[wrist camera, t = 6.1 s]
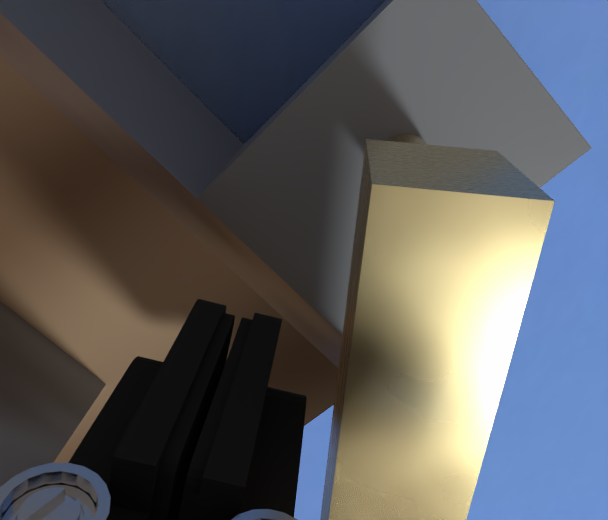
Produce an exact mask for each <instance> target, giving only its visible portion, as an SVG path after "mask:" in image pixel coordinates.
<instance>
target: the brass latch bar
mask: <svg viewBox="0 0 608 520" xmlns="http://www.w3.org/2000/svg"><path fill="white" fill-rule="evenodd" d="M553 205H554V200H553V199H552V198H550V197H549V196H548V195H547V194H546V193H545V192H544V191H543V190H541V189H540V188H539V187H538V186H537V185H536V184H535V183H533V182H532V181H531V180H530V179H529V178H528V177H527V176H525V175H524V174H523V173H522V172H521V171H520V170H519V169H517V168H516V167H515V166H514V165H513V164H512V163H511V162H510V161H508V160H507V159H506V158H505V157H504V156H503V155H502V154H500V153H499V152H498V151H493V150H482V149H471V148H460V147H448V146H437V145H427V143H426V142H425V141H424V140H423V139H421V138H420V137H418V136H416V135H412V134H399V135H395V136H393V137H391V138H389V139H388V140H386V141H381V140H370V139H366V143H365V151H364V160H363V168H362V176H361V185H360V193H359V201H358V210H357V218H356V226H355V235H354V243H353V251H352V260H351V268H350V276H349V285H348V293H347V301H346V310H345V318H344V326H343V335H342V343H341V351H340V360H339V368H338V376H337V385H336V393H335V401H334V410H333V418H332V426H331V435H330V443H329V451H328V460H327V468H326V476H325V485H324V493H323V501H322V510H321V518H320V520H466V518H467V515H468V511H469V508H470V504H471V500H472V497H473V493H474V490H475V486H476V482H477V479H478V475H479V472H480V468H481V464H482V461H483V457H484V454H485V450H486V446H487V443H488V439H489V436H490V432H491V428H492V425H493V421H494V418H495V414H496V410H497V407H498V403H499V400H500V396H501V392H502V389H503V385H504V382H505V378H506V374H507V371H508V367H509V364H510V360H511V356H512V353H513V349H514V346H515V342H516V338H517V335H518V331H519V327H520V324H521V320H522V317H523V313H524V309H525V306H526V302H527V299H528V295H529V291H530V288H531V284H532V281H533V277H534V273H535V270H536V266H537V263H538V259H539V255H540V252H541V248H542V245H543V241H544V237H545V234H546V230H547V227H548V223H549V219H550V216H551V212H552V209H553Z"/></svg>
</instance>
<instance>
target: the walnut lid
mask: <svg viewBox="0 0 608 520" xmlns="http://www.w3.org/2000/svg"><path fill="white" fill-rule="evenodd" d="M197 299H202V300H206V301H210V302H214V303H218V304H222V305H226V313H227V314H232V315H235V321H234V326H233V331H232V336H231V341H230V346H229V351H228V355H229V352H230V350H231V347H232V344H233V341H234V338H235V335H236V333H237V330H238V327H239V324H240V321H241V319H242V317H243V318H248V319H252V320H253V317H254V314H255V313H259V314H264V315H268V316H272V317H276V318H280V319H282V323H281V328H280V332H279V337H278V342H277V346H276V351H275V355H274V360H273V364H272V369H271V373H270V378H269V382H268V387H271V388H275V389H279V390H283V391H288V392H292V393H296V394H300V395H305V396H306V398H307V400H306V411H305V420H304V426H305V425H306V424H307V423H309V422H310V421H312V420H313V419H314V418H316V417H317V416H318V415H320V414H321V413H323V412H324V411H325V410H327V409H328V408H330V407H331V406H332V405H334V401H335V393H336V385H337V376H338V368H339V360H340V351H341V343H342V335H341V334H340V333H339V332H338V331H337V330H336V329H335V328H334V327H332V326H331V325H330V324H329V323H328V322H327V321H326V320H325V319H324V318H323V317H322V316H321V315H320V314H319V313H318V312H317V311H316V310H314V309H313V308H312V307H311V306H310V305H309V304H308V303H307V302H306V301H305V300H304V299H303V298H302V297H301V296H300V295H299V294H298V293H296V292H295V291H294V290H293V289H292V288H291V287H290V286H289V285H288V284H287V283H286V282H285V281H284V280H283V279H282V278H281V277H280V276H278V275H277V274H276V273H275V272H274V271H273V270H272V269H271V268H270V267H269V266H268V265H267V264H266V263H265V262H264V261H263V260H262V259H260V258H259V257H258V256H257V255H256V254H255V253H254V252H253V251H252V250H251V249H250V248H249V247H248V246H247V245H246V244H245V243H244V242H243V241H241V240H240V239H239V238H238V237H237V236H236V235H235V234H234V233H233V232H232V231H231V230H230V229H229V228H228V227H227V226H226V225H225V224H223V223H222V222H221V221H220V220H219V219H218V218H217V217H216V216H215V215H214V214H213V213H212V212H211V211H210V210H209V209H208V208H207V207H205V206H204V205H203V204H202V203H201V202H200V201H199V200H198V199H197V198H196V197H195V196H194V195H193V194H192V193H191V192H190V191H189V190H187V189H186V188H185V187H184V186H183V185H182V184H181V183H180V182H179V181H178V180H177V179H176V178H175V177H174V176H173V175H172V174H171V173H169V172H168V171H167V170H166V169H165V168H164V167H163V166H162V165H161V164H160V163H159V162H158V161H157V160H156V159H155V158H154V157H153V156H151V155H150V154H149V153H148V152H147V151H146V150H145V149H144V148H143V147H142V146H141V145H140V144H139V143H138V142H137V141H136V140H135V139H133V138H132V137H131V136H130V135H129V134H128V133H127V132H126V131H125V130H124V129H123V128H122V127H121V126H120V125H119V124H118V123H117V122H115V121H114V120H113V119H112V118H111V117H110V116H109V115H108V114H107V113H106V112H105V111H104V110H103V109H102V108H101V107H100V106H99V105H97V104H96V103H95V102H94V101H93V100H92V99H91V98H90V97H89V96H88V95H87V94H86V93H85V92H84V91H83V90H82V89H81V88H79V87H78V86H77V85H76V84H75V83H74V82H73V81H72V80H71V79H70V78H69V77H68V76H67V75H66V74H65V73H64V72H63V71H61V70H60V69H59V68H58V67H57V66H56V65H55V64H54V63H53V62H52V61H51V60H50V59H49V58H48V57H47V56H46V55H45V54H43V53H42V52H41V51H40V50H39V49H38V48H37V47H36V46H35V45H34V44H33V43H32V42H31V41H30V40H29V39H28V38H27V37H25V36H24V35H23V34H22V33H21V32H20V31H19V30H18V29H17V28H16V27H15V26H14V25H13V24H12V23H11V22H10V21H9V20H7V19H6V18H5V17H4V16H3V15H2V14H1V13H0V487H1V486H2V485H4V484H5V483H6V482H7V481H9V480H10V479H11V478H12V477H14V476H15V475H17V474H19V473H21V472H23V471H26V470H28V469H30V468H32V467H36V466H40V465H44V464H48V463H68V462H69V461H70V459H71V457H72V456H73V454H74V453H75V451H76V449H77V448H78V446H79V445H80V443H81V442H82V440H83V438H84V437H85V435H86V434H87V432H88V430H89V429H90V427H91V426H92V424H93V422H94V421H95V419H96V418H97V416H98V415H99V413H100V411H101V410H102V408H103V407H104V405H105V403H106V402H107V400H108V399H109V397H110V396H111V394H112V392H113V391H114V389H115V388H116V386H117V384H118V383H119V381H120V380H121V378H122V377H123V375H124V373H125V372H126V370H127V369H128V367H129V365H130V364H131V362H132V361H133V360H134V358H136V357H137V356H140V357H144V358H149V359H153V360H157V361H161V362H164V360H165V358H166V356H167V354H168V352H169V351H170V349H171V347H172V345H173V343H174V341H175V339H176V338H177V336H178V334H179V332H180V330H181V328H182V326H183V325H184V323H185V321H186V319H187V317H188V315H189V313H190V312H191V310H192V308H193V306H194V304H195V302H196V301H197ZM227 358H228V356H227Z"/></svg>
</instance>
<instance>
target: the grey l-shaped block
mask: <svg viewBox="0 0 608 520" xmlns="http://www.w3.org/2000/svg"><path fill="white" fill-rule="evenodd" d="M0 13H1V14H2V15H3V16H4V17H5V18H6V19H7V20H9V21H10V22H11V23H12V24H13V25H14V26H15V27H16V28H17V29H18V30H19V31H20V32H21V33H22V34H23V35H24V36H25V37H27V38H28V39H29V40H30V41H31V42H32V43H33V44H34V45H35V46H36V47H37V48H38V49H39V50H40V51H41V52H42V53H43V54H45V55H46V56H47V57H48V58H49V59H50V60H51V61H52V62H53V63H54V64H55V65H56V66H57V67H58V68H59V69H60V70H61V71H63V72H64V73H65V74H66V75H67V76H68V77H69V78H70V79H71V80H72V81H73V82H74V83H75V84H76V85H77V86H78V87H79V88H81V89H82V90H83V91H84V92H85V93H86V94H87V95H88V96H89V97H90V98H91V99H92V100H93V101H94V102H95V103H96V104H97V105H99V106H100V107H101V108H102V109H103V110H104V111H105V112H106V113H107V114H108V115H109V116H110V117H111V118H112V119H113V120H114V121H115V122H117V123H118V124H119V125H120V126H121V127H122V128H123V129H124V130H125V131H126V132H127V133H128V134H129V135H130V136H131V137H132V138H133V139H135V140H136V141H137V142H138V143H139V144H140V145H141V146H142V147H143V148H144V149H145V150H146V151H147V152H148V153H149V154H150V155H151V156H153V157H154V158H155V159H156V160H157V161H158V162H159V163H160V164H161V165H162V166H163V167H164V168H165V169H166V170H167V171H168V172H169V173H171V174H172V175H173V176H174V177H175V178H176V179H177V180H178V181H179V182H180V183H181V184H182V185H183V186H184V187H185V188H186V189H187V190H189V191H190V192H191V193H192V194H193V195H194V196H195V197H196V198H197V199H198V200H199V201H200V202H201V203H202V204H203V205H204V206H205V207H207V208H208V209H209V210H210V211H211V212H212V213H213V214H214V215H215V216H216V217H217V218H218V219H219V220H220V221H221V222H222V223H223V224H225V225H226V226H227V227H228V228H229V229H230V230H231V231H232V232H233V233H234V234H235V235H236V236H237V237H238V238H239V239H240V240H241V241H243V242H244V243H245V244H246V245H247V246H248V247H249V248H250V249H251V250H252V251H253V252H254V253H255V254H256V255H257V256H258V257H259V258H260V259H262V260H263V261H264V262H265V263H266V264H267V265H268V266H269V267H270V268H271V269H272V270H273V271H274V272H275V273H276V274H277V275H278V276H280V277H281V278H282V279H283V280H284V281H285V282H286V283H287V284H288V285H289V286H290V287H291V288H292V289H293V290H294V291H295V292H296V293H298V294H299V295H300V296H301V297H302V298H303V299H304V300H305V301H306V302H307V303H308V304H309V305H310V306H311V307H312V308H313V309H314V310H316V311H317V312H318V313H319V314H320V315H321V316H322V317H323V318H324V319H325V320H326V321H327V322H328V323H329V324H330V325H331V326H332V327H334V328H335V329H336V330H337V331H338V332H339V333H340V334H341V335H343V326H344V318H345V310H346V301H347V293H348V285H349V276H350V268H351V260H352V251H353V243H354V235H355V226H356V218H357V210H358V201H359V193H360V185H361V176H362V168H363V160H364V151H365V143H366V139H370V140H381V141H386V140H388V139H389V138H391V137H393V136H395V135H399V134H412V135H416V136H418V137H420V138H421V139H423V140H424V141H425V142H426V143H427V145H437V146H448V147H460V148H471V149H482V150H493V151H498V152H499V153H500V154H502V155H503V156H504V157H505V158H506V159H507V160H508V161H510V162H511V163H512V164H513V165H514V166H515V167H516V168H517V169H519V170H520V171H521V172H522V173H523V174H524V175H525V176H527V177H528V178H529V179H530V180H531V181H532V182H533V183H535V184H536V185H537V186H538V187H539V188H540V187H541V186H543V185H544V184H545V183H547V182H548V181H549V180H550V179H552V178H553V177H554V176H556V175H557V174H558V173H560V172H561V171H562V170H563V169H565V168H566V167H567V166H569V165H570V164H571V163H573V162H574V161H575V160H577V159H578V158H579V157H580V156H582V155H583V154H584V153H586V152H587V151H588V150H590V149H591V146H590V145H589V144H588V142H587V141H586V140H585V139H584V137H583V136H582V135H581V134H580V132H579V131H578V130H577V128H576V127H575V126H574V125H573V123H572V122H571V121H570V119H569V118H568V117H567V116H566V114H565V113H564V112H563V110H562V109H561V108H560V107H559V105H558V104H557V103H556V102H555V100H554V99H553V98H552V96H551V95H550V94H549V93H548V91H547V90H546V89H545V87H544V86H543V85H542V84H541V82H540V81H539V80H538V78H537V77H536V76H535V75H534V73H533V72H532V71H531V70H530V68H529V67H528V66H527V64H526V63H525V62H524V61H523V59H522V58H521V57H520V55H519V54H518V53H517V52H516V50H515V49H514V48H513V46H512V45H511V44H510V43H509V41H508V40H507V39H506V37H505V36H504V35H503V34H502V32H501V31H500V30H499V29H498V27H497V26H496V25H495V23H494V22H493V21H492V20H491V18H490V17H489V16H488V14H487V13H486V12H485V11H484V9H483V8H482V7H481V5H480V4H479V3H478V2H477V0H385V1H384V2H383V3H382V4H381V5H380V6H379V7H378V8H377V9H376V10H375V11H374V12H373V13H372V14H371V15H370V16H369V17H368V18H367V19H366V21H365V22H364V23H363V24H362V25H361V26H360V27H359V28H358V29H357V30H356V31H355V32H354V33H353V34H352V35H351V36H350V37H349V38H348V39H347V40H346V41H345V42H344V43H343V44H342V45H341V46H340V47H339V48H338V49H337V50H336V51H335V52H334V53H333V54H332V55H331V56H330V57H329V58H328V59H327V60H326V61H325V62H324V63H323V64H322V65H321V66H320V67H319V68H318V69H317V70H316V71H315V72H314V73H313V74H312V76H311V77H310V78H309V79H308V80H307V81H306V82H305V83H304V84H303V85H302V86H301V87H300V88H299V89H298V90H297V91H296V92H295V93H294V94H293V95H292V96H291V97H290V98H289V99H288V100H287V101H286V102H285V103H284V104H283V105H282V106H281V107H280V108H279V109H278V110H277V111H276V112H275V113H274V114H273V115H272V116H271V117H270V118H269V119H268V120H267V121H266V122H265V123H264V124H263V125H262V126H261V127H260V128H259V129H258V130H257V132H256V133H255V134H254V135H253V136H252V137H251V138H250V139H249V140H248V141H247V142H246V143H245V144H243V143H242V142H241V141H240V140H239V139H238V138H237V137H236V136H235V135H234V134H233V133H232V132H231V131H230V130H229V129H228V128H227V127H226V126H225V125H224V124H223V123H222V122H221V121H220V120H219V119H218V118H217V117H216V116H215V115H214V114H213V112H212V111H211V110H210V109H209V108H208V107H207V106H206V105H205V104H204V103H203V102H202V101H201V100H200V99H199V98H198V97H197V96H196V95H195V94H194V93H193V92H192V91H191V90H190V89H189V88H188V87H187V86H186V85H185V84H184V83H183V82H182V81H181V80H180V79H179V78H178V77H177V76H176V75H175V74H174V73H173V72H172V71H171V70H170V69H169V68H168V67H167V66H166V65H165V64H164V63H163V62H162V61H161V60H160V59H159V58H158V57H157V56H156V55H155V54H154V53H153V52H152V51H151V50H150V49H149V48H148V47H147V46H146V45H145V44H144V43H143V42H142V41H141V40H140V39H139V38H138V37H137V36H136V35H135V34H134V33H133V32H132V31H131V30H130V29H129V28H128V27H127V26H126V25H125V24H124V23H123V22H122V21H121V20H120V19H119V18H118V17H117V16H116V15H115V14H114V13H113V12H112V11H111V10H110V9H109V8H108V7H107V6H106V5H105V4H104V3H103V2H102V1H101V0H0Z"/></svg>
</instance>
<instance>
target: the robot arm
mask: <svg viewBox="0 0 608 520" xmlns="http://www.w3.org/2000/svg"><path fill="white" fill-rule="evenodd" d="M234 321H235V315H232V314H227V313H226V305H222V304H218V303H214V302H210V301H206V300H202V299H197V301H196V302H195V304H194V306H193V308H192V310H191V312H190V313H189V315H188V317H187V319H186V321H185V323H184V325H183V326H182V328H181V330H180V332H179V334H178V336H177V338H176V339H175V341H174V343H173V345H172V347H171V349H170V351H169V352H168V354H167V356H166V358H165V360H164V362H161V361H157V360H153V359H149V358H144V357H140V356H137V357H136V358H134V360H133V361H132V362H131V364H130V365H129V367H128V369H127V370H126V372H125V373H124V375H123V377H122V378H121V380H120V381H119V383H118V384H117V386H116V388H115V389H114V391H113V392H112V394H111V396H110V397H109V399H108V400H107V402H106V403H105V405H104V407H103V408H102V410H101V411H100V413H99V415H98V416H97V418H96V419H95V421H94V422H93V424H92V426H91V427H90V429H89V430H88V432H87V434H86V435H85V437H84V438H83V440H82V442H81V443H80V445H79V446H78V448H77V449H76V451H75V453H74V454H73V456H72V457H71V459H70V461H69V462H68V463H48V464H44V465H40V466H36V467H32V468H30V469H28V470H26V471H23V472H21V473H19V474H17V475H15V476H14V477H12V478H11V479H10V480H9V481H7V482H6V483H5V484H4V485H2V486H1V487H0V520H297V519H295V518H294V510H295V501H296V492H297V483H298V474H299V465H300V456H301V447H302V438H303V429H304V420H305V411H306V400H307V398H306V396H305V395H300V394H296V393H292V392H288V391H283V390H279V389H275V388H271V387H268V382H269V378H270V373H271V369H272V364H273V360H274V355H275V351H276V346H277V342H278V337H279V332H280V328H281V323H282V319H280V318H276V317H272V316H268V315H264V314H259V313H255V314H254V317H253V320H252V319H248V318H243V317H242V319H241V321H240V324H239V327H238V330H237V333H236V335H235V338H234V341H233V344H232V347H231V350H230V352H229V355H228V351H229V346H230V341H231V336H232V331H233V326H234ZM227 356H228V358H227Z"/></svg>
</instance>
